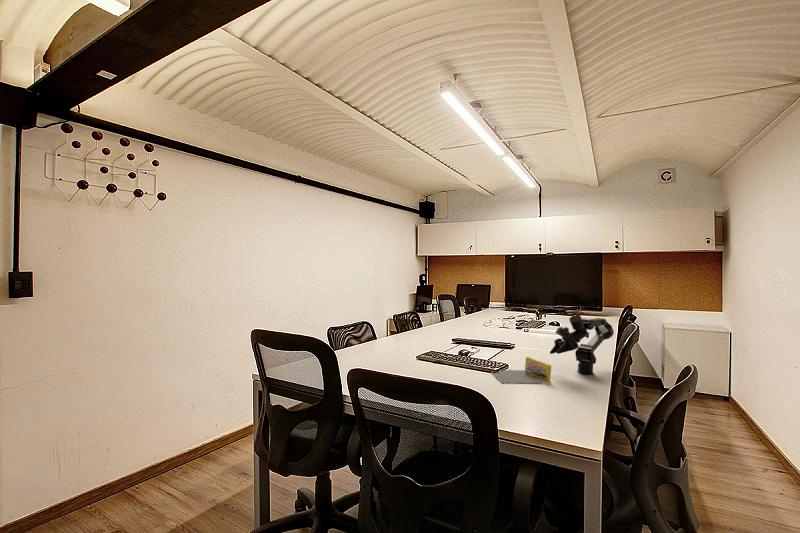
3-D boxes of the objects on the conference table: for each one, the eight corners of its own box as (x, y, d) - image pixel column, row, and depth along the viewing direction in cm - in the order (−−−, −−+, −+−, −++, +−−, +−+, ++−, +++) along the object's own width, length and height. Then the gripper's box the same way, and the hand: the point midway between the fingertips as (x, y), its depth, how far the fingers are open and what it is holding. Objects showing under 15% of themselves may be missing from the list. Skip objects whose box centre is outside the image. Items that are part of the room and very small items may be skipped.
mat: (525, 371, 211) (525, 370, 211) (541, 383, 189) (541, 382, 189) (489, 370, 211) (489, 370, 211) (501, 383, 189) (501, 382, 189)
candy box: (524, 372, 207) (525, 356, 207) (527, 371, 208) (528, 356, 208) (547, 381, 193) (548, 365, 193) (550, 381, 194) (552, 364, 194)
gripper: (559, 324, 215) (537, 341, 213) (574, 321, 197) (550, 339, 195) (572, 341, 213) (550, 358, 211) (588, 339, 195) (564, 358, 193)
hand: (553, 353), depth 202 cm, fingers open, 9 cm apart
